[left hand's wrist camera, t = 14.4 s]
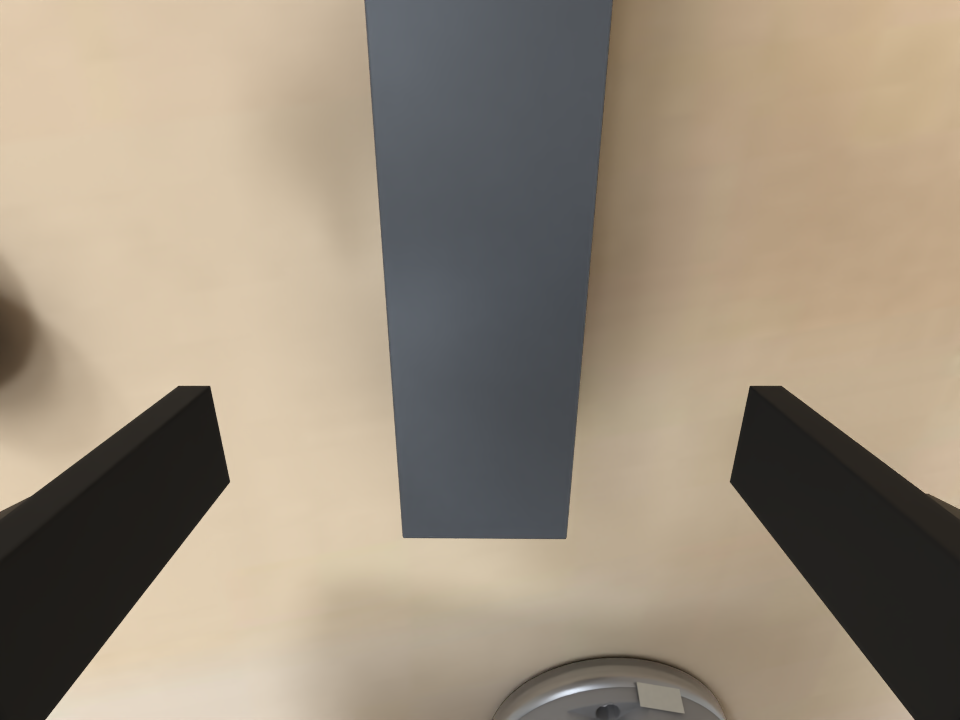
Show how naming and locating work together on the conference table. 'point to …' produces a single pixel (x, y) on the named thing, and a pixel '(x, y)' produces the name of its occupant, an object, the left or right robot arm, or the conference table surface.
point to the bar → (486, 250)
